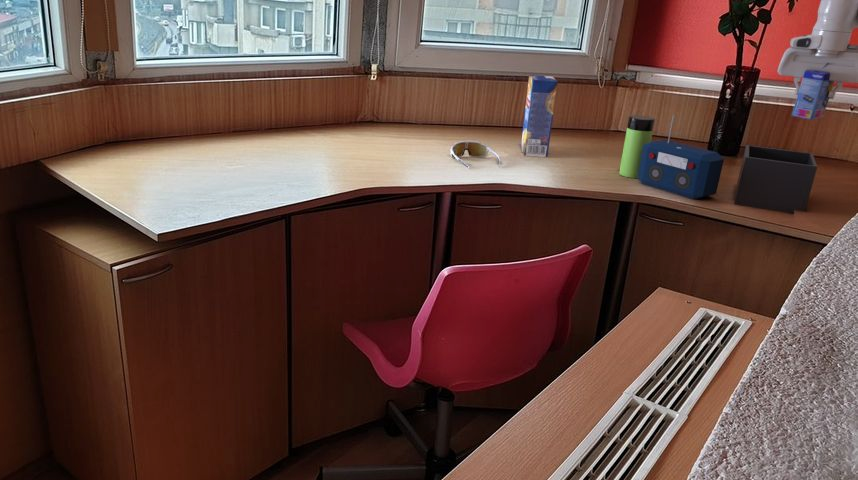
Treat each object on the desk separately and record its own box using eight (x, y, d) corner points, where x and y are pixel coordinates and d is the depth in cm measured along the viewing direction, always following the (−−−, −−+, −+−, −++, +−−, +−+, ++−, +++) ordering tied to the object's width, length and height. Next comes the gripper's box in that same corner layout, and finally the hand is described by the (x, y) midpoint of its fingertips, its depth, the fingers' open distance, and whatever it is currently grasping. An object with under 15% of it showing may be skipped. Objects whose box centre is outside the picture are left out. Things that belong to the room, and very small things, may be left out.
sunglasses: (484, 154, 229) (487, 140, 227) (504, 173, 217) (507, 158, 214) (443, 156, 225) (445, 141, 222) (461, 175, 213) (464, 159, 210)
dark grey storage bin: (800, 198, 200) (812, 153, 195) (803, 215, 185) (817, 166, 180) (735, 188, 206) (746, 144, 202) (734, 204, 191) (745, 157, 187)
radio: (633, 182, 207) (646, 113, 199) (652, 179, 212) (665, 111, 204) (698, 202, 191) (714, 127, 184) (717, 197, 196) (733, 125, 189)
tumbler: (618, 171, 219) (627, 114, 213) (643, 173, 218) (653, 115, 211) (620, 177, 212) (630, 118, 206) (646, 179, 211) (657, 120, 204)
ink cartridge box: (812, 120, 188) (828, 63, 182) (790, 116, 191) (805, 60, 186) (825, 117, 194) (841, 62, 189) (803, 113, 198) (818, 59, 192)
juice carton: (547, 157, 231) (557, 81, 222) (524, 155, 231) (533, 79, 222) (542, 148, 242) (552, 76, 233) (520, 147, 243) (529, 74, 234)
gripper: (873, 45, 184) (857, 100, 189) (785, 38, 192) (771, 90, 197) (877, 47, 179) (859, 103, 184) (786, 39, 187) (772, 93, 192)
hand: (813, 96), depth 191 cm, fingers closed on ink cartridge box, 6 cm apart
